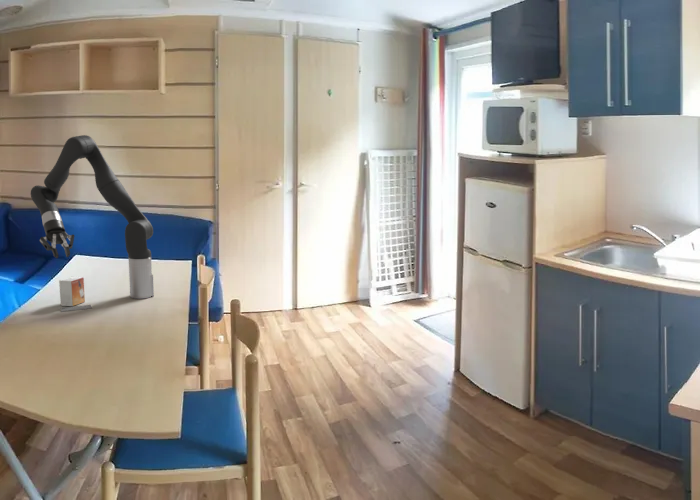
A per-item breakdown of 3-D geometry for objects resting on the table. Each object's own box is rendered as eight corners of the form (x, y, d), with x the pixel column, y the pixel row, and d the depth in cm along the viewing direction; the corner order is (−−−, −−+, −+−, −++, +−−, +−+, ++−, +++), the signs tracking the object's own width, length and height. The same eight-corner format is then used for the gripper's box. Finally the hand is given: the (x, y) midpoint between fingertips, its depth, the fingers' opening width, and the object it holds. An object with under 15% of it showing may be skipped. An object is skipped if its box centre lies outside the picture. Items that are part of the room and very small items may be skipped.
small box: (72, 306, 228) (70, 281, 227) (60, 305, 229) (58, 280, 228) (85, 301, 236) (84, 277, 234) (73, 300, 237) (72, 276, 235)
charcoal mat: (90, 305, 232) (90, 304, 232) (92, 308, 228) (92, 307, 228) (60, 308, 226) (60, 307, 226) (61, 311, 222) (61, 311, 222)
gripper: (35, 219, 237) (45, 253, 230) (72, 217, 246) (82, 249, 240) (33, 230, 242) (42, 263, 235) (69, 228, 251) (79, 259, 244)
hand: (62, 256), depth 238 cm, fingers open, 3 cm apart
